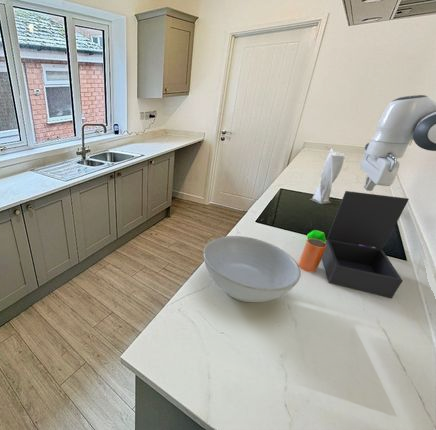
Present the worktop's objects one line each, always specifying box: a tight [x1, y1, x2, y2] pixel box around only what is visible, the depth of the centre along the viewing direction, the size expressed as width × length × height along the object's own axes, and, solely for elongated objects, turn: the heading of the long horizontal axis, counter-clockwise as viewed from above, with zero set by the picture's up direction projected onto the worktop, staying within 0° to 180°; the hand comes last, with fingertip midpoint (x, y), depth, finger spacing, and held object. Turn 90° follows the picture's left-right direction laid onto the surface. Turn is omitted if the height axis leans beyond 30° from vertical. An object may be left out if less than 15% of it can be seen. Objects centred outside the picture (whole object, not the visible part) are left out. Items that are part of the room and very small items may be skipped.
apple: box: [306, 229, 327, 243], centre depth 107 cm, size 7×6×9 cm
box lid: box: [326, 190, 410, 250], centre depth 89 cm, size 18×16×1 cm
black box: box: [321, 238, 403, 299], centre depth 88 cm, size 18×16×8 cm
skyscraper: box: [309, 147, 346, 205], centre depth 138 cm, size 8×8×28 cm
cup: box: [297, 238, 327, 273], centre depth 91 cm, size 6×6×11 cm
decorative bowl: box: [203, 235, 302, 303], centre depth 83 cm, size 27×27×12 cm
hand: (367, 189), depth 91 cm, fingers closed
